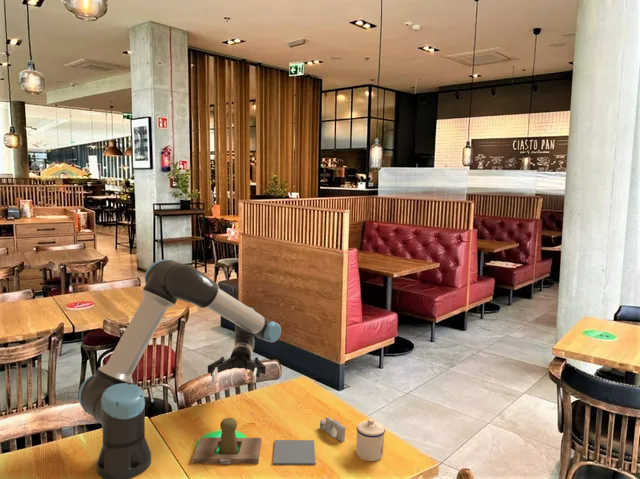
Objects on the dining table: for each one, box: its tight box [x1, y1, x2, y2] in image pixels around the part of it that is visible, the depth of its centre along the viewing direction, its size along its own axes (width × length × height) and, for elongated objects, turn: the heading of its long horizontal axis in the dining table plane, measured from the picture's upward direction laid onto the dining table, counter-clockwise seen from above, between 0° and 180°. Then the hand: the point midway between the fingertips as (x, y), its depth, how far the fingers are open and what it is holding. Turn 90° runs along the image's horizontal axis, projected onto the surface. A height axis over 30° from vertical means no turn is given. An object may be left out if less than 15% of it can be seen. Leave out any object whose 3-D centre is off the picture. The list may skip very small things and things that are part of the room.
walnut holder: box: [192, 436, 262, 465], centre depth 152 cm, size 20×13×2 cm, turn 93°
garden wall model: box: [319, 416, 347, 443], centre depth 165 cm, size 12×2×6 cm, turn 40°
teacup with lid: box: [355, 418, 386, 462], centre depth 155 cm, size 12×9×12 cm
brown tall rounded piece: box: [218, 417, 239, 455], centre depth 152 cm, size 6×6×11 cm
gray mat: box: [272, 439, 316, 466], centre depth 153 cm, size 13×13×1 cm
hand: (233, 378), depth 160 cm, fingers open, 13 cm apart
